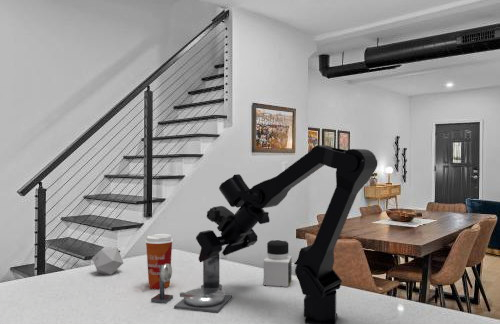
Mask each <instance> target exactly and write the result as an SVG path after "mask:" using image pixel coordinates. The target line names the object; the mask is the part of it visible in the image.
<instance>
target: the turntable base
mask: <svg viewBox="0 0 500 324" xmlns="http://www.w3.org/2000/svg"><path fill="white" fill-rule="evenodd" d="M233 297H234V296H233V294H225V300H224V301H223V302H222V303H220V304H217V305H212V306H192V305H189V304H186V303H185V302H184V298H182V299H181V300H180V301H179V302H177V303H176V304H174V305H173V309H176V310H185V311H194V312H205V313H215V314H218V313H219V312H221V310H222V309H223V308H224V307H225V306H226V305H227V304H228V303H229V302H230V301H231V300H232V299H233Z"/></svg>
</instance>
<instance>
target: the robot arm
mask: <svg viewBox="0 0 500 324" xmlns="http://www.w3.org/2000/svg"><path fill="white" fill-rule="evenodd" d="M324 166H326V167H329V168H332V169H336V171H335V181H336V182H335V183H336V185H335V189H334V192H333V194H332V196H331V199H330V200H329V201H330V202H329V204H328V205H327V208H326V211H325V214H324V216H323V219H322V221H321V223H320V225H319V229H318V231H317V234H316V236H315V238H314V241H313V243H312V244H310V245H308V246H304V247H302V248H300V250H299V251H298V252H299V253H298V258H297V259H296V261H294V262H293V263H294V266H295V265H296V266H295V270H294V274H295V276H296V279H297V280H298V282H299V287H300V289H301V293H302V295H304V298H303V317H304V318H305V320H304V323H306V324H337V320H338V319H337V318H338V313H337V290H339V289H340V288H341V286H342V283H343V280H342V279H341V278H340V276H339V275H338V274H337V273H336V271H335V270H334V264H335V255H334V252H335V247H336V245H337V244H338V243H337V242H338V241H339V238H340V235H341V233H342V231H343V228H344V226H345V223H346V221H347V218H348V217H349V214H350V212H351V210H352V207H353V205H354V202H355V200H356V198H357V195H358V194H359V192H360V191H361V190H362V188H363V187H364V186H365V185H366V184H367V183H368V182H369V181H370V179H371V178H372V176H373V174H374V173H375V171H376V169H377V167H378V160H377V156H376V155H375V154H374V152H372V151H370V150H369V149H363V148H361V149H360V148H349V149H343V148H338V147H337V148H336V147H332V146H330V145H327V144H326V145H325V144H324V145H322V144H317V145H315V146H313V147H312V148H311V150H309V151H308V152H307V153H306V154H304V155H303V156H302V157H300V158H299V159H297V160H296V161H295V162H293V163H292V164H291V165H290V166H288V167H287V168H285V169H284V170H283V171H281V172H280V173H279V174H278V175H276V176H274V177H272V178H268V179H266V180H263V181H261V182H259V183H257V184H255V185H253V186H252V187H251V188H249V186H248V185H247V184H246V182H245V181H244V178H243V177H242V176H241V174H238V173H237V174H234V175H232V177H229V178H228V179H226V180H225V181H224V182H221V184H219V187H218V189H219V191H220V193H221V194H222V196H223V197H224V199H225V200H226V201H227V203H228V204H229V206H230V207H232V208H234V207H236V208H238V209H237V211H236V212H235V213H234V212H232V211H231V209H230V210H229V209H228V208H227V207H226V206H223V205H218V206H213V207H211V208H209V210H207V211H206V218H207V219H208V220H209V221H211V223H215V224H216V225H217V227H216V229H217V230H218V232H220V236H217V234H216V233H215V232H214V230H211V229H209V230H207V229H206V230H203V231H200V232H199V233H198V234H197V235H196V236H195V240H196V241H197V243H198V245H199V247H200V248H201V249H200V252H199V254H198V261H199V263H203V261H205V260H207V259H210V258H212V257H214V256H216V255H218V253H219V254H220V253H221V252H222V253H221V254H222V255H223V256H224V257H225V256H228V255H230V254H233V253H235V252H238V251H240V250H244V249H246V248H249V247H250V246H254V245H255V244H256V243H257V241H258V235H257V233H256V232H255V230H254V229H253V228H254V227H255V226H256V225H257V224H260V225H263V224H267V223H270V220H271V219H270V215H269V213H270V212H268V211H265V210H264V209H266V208H273V207H276V206H278V205H279V204H280V203H281V202H282V201H283V200H285V198H286V197H287V195H288V193H289V191H291V189H293V188H294V187H295V186H297V185H298V184H300V183H301V182H302V181H304V180H305V179H307V178H308V177H310V176H311V175H313V174H314V173H315V172H317V171H318V170H319V169H321V168H322V167H324ZM224 246H225V247H224ZM223 247H224V249H223ZM222 250H223V251H222Z"/></svg>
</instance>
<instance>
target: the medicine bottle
mask: <svg viewBox="0 0 500 324" xmlns="http://www.w3.org/2000/svg"><path fill="white" fill-rule="evenodd" d="M266 248H267V249H266V251H267V252H266V254H267V256H266V257H265V258H264V259H263V286H264V285H266V286H267V287H280V286H282V287H283V288H288V287H290V284H291V281H292V278H293V277H292V273H293V271H292V270H293V268H292V259H293V258H292V257H293V256H291V255H289V242H288V241H287V240H283V239H273V240H269V241H268V242H267V245H266ZM282 287H281V288H282Z"/></svg>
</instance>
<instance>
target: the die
mask: <svg viewBox="0 0 500 324" xmlns="http://www.w3.org/2000/svg"><path fill="white" fill-rule="evenodd" d="M91 259H92V261H93V264H94V266H95V269H96V271H97V273H98V274H101V275H108V276H111V275H113V274H114V273H115V272H116V271H118V269H119V268H120V267H121V266H122V265H123V264H124V261H123V258H122V256H121V253H120V250H119V248H118V247H111V246H104V247H102V248H101V249H100V251H98V252H97V253H96V254H95V255H94V256H92V258H91Z"/></svg>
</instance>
